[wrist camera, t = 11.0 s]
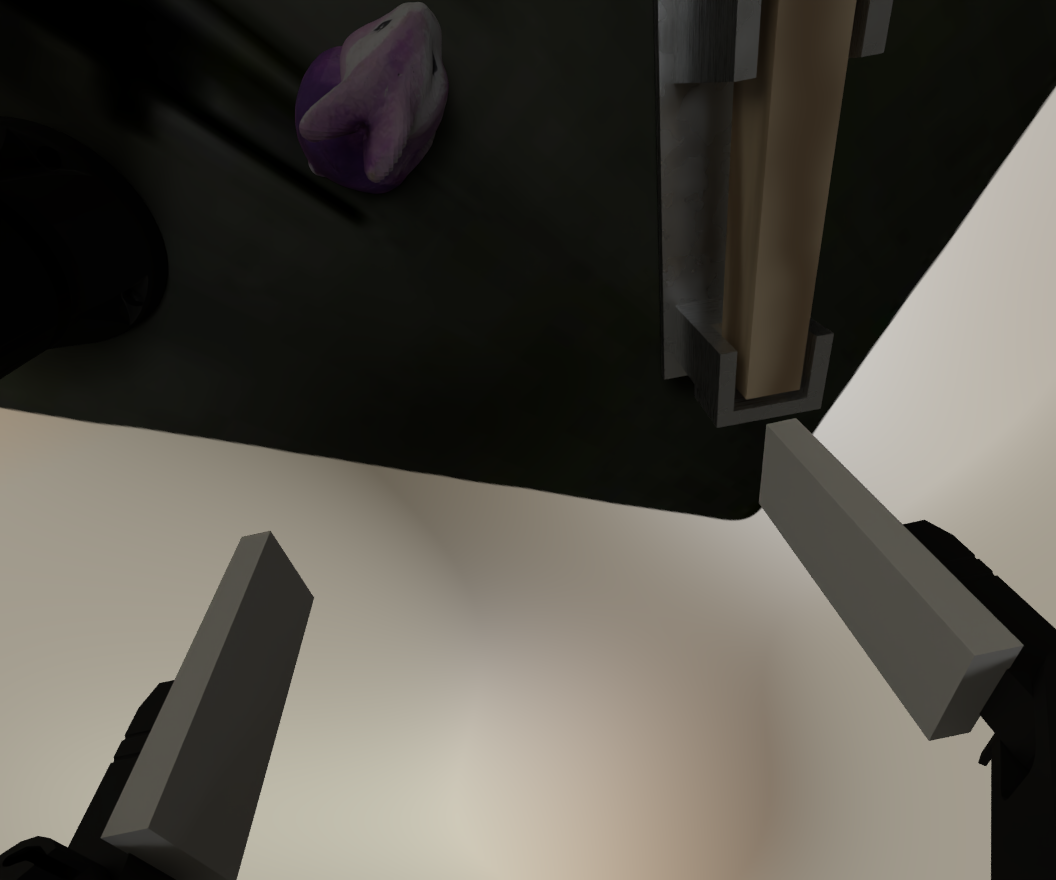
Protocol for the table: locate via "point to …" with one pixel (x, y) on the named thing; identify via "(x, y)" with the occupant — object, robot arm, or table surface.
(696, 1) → the bracket stand
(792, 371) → the rail
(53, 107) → the table surface
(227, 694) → the robot arm
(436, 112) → the figurine
